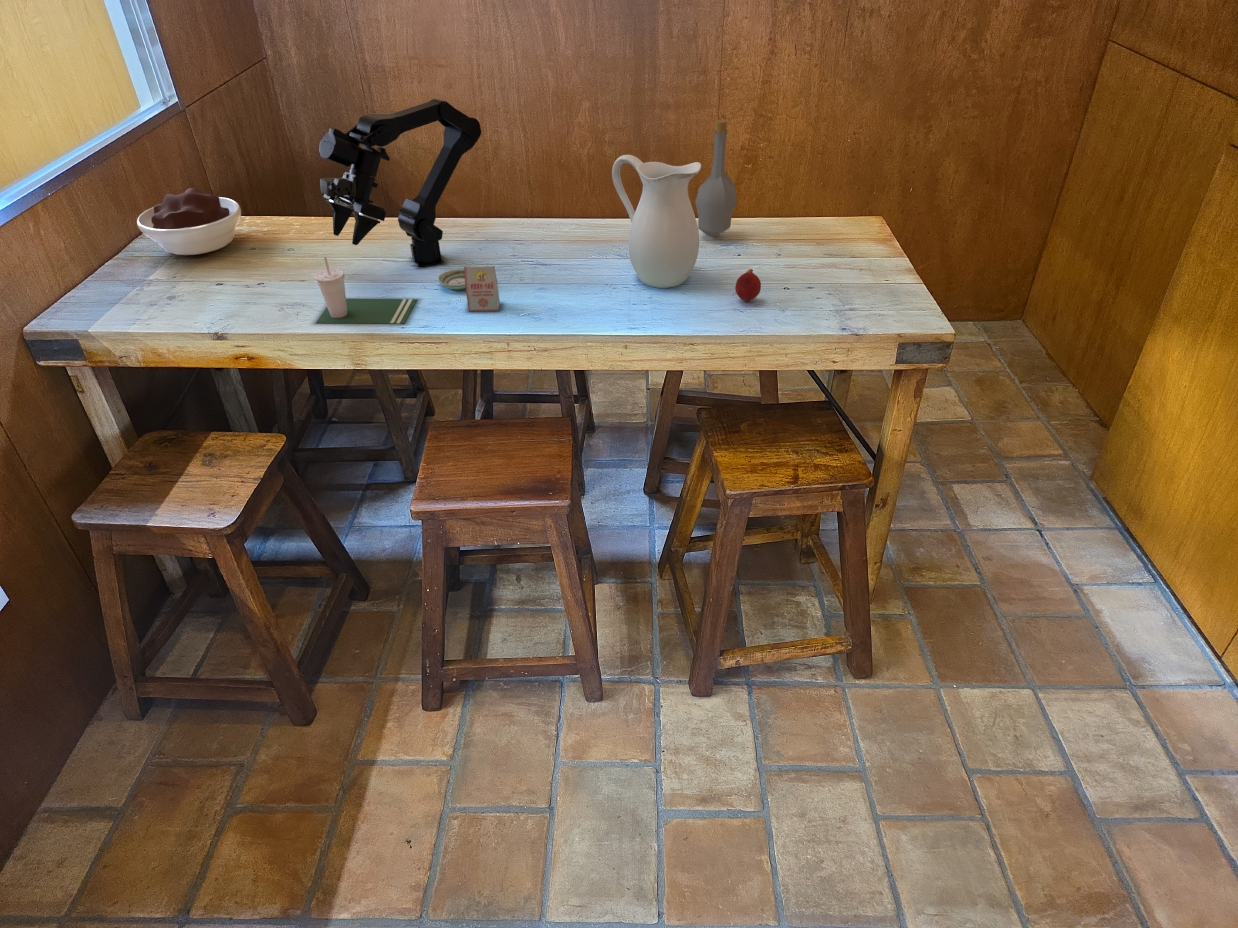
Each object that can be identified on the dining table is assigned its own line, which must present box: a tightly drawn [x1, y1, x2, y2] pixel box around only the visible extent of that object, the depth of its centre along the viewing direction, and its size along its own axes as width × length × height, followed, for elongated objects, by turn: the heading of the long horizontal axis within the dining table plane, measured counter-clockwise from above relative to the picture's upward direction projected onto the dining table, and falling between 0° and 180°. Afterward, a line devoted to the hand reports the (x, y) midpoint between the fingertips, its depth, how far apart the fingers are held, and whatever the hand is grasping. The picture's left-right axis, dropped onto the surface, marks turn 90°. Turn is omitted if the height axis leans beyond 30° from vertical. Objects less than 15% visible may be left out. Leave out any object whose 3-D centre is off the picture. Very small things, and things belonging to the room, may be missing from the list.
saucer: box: [437, 268, 466, 291], centre depth 190 cm, size 10×10×2 cm
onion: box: [734, 268, 762, 303], centre depth 180 cm, size 6×6×8 cm
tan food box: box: [463, 265, 501, 313], centre depth 178 cm, size 4×7×10 cm, turn 91°
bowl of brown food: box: [136, 187, 242, 256], centre depth 206 cm, size 25×25×15 cm
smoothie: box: [314, 255, 347, 318], centre depth 175 cm, size 6×6×14 cm
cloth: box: [315, 298, 418, 325], centre depth 180 cm, size 20×12×1 cm, turn 88°
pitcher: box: [611, 154, 702, 289], centre depth 186 cm, size 24×17×28 cm
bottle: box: [694, 119, 738, 238], centre depth 204 cm, size 11×11×30 cm
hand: (344, 240), depth 183 cm, fingers open, 9 cm apart
